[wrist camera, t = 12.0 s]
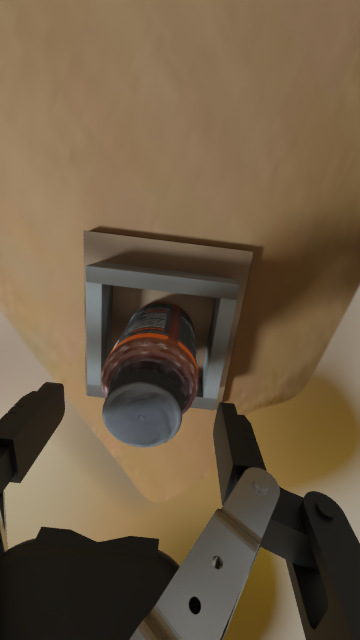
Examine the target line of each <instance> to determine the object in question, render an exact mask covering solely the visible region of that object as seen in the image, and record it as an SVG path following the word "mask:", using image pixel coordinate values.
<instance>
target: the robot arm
mask: <svg viewBox="0 0 360 640" xmlns="http://www.w3.org/2000/svg"><path fill="white" fill-rule="evenodd" d="M64 412H65V402H64V386H63V384H60V383H50V382H46V383H44V384H43V385H42V387H41V388H40V389H39V390H38V391H32V392H30V393H29V394H27V395H25V396H23V397H22V398H21V399H20V400H19V401H18V402H17V403H16V404H15V405H14V407H12V408H11V409H10V410H9V411H8V413H6V414H5V415H4V416H3V417H2V418H1V419H0V640H223V638H224V635H225V633H226V630H227V628H228V625H229V623H230V620H231V618H232V615H233V613H234V610H235V608H236V605H237V603H238V600H239V598H240V595H241V593H242V590H243V587H244V585H245V583H246V580H247V578H248V576H249V573H250V571H251V568H252V566H253V563H254V561H255V558H256V556H257V554H258V551H259V549H260V547H263V548H264V549H266V550H269V551H270V552H272V553H274V554H276V555H278V556H280V557H282V558H284V559H286V563H287V567H288V571H289V575H290V579H291V582H292V587H293V590H294V594H295V598H296V602H297V606H298V610H299V614H300V618H301V622H302V626H303V630H304V633H305V638H306V640H360V543H359V541H358V539H357V537H356V536H355V534H354V532H353V530H352V528H351V526H350V524H349V522H348V520H347V518H346V516H345V514H344V512H343V511H342V509H341V508H340V507H339V505H338V504H337V503H336V502H335V501H333V500H332V499H331V498H330V497H328V496H327V495H324V494H322V493H320V492H315V491H312V492H308V493H307V494H306V495H305V496H304V498H303V497H301V496H298V495H296V494H293V493H291V492H289V491H286V490H284V489H283V488H281V487H280V486H279V485H278V483H277V481H276V480H275V478H274V477H273V476H272V475H271V474H269V473H268V472H267V471H266V468H265V465H264V462H263V459H262V456H261V453H260V450H259V447H258V444H257V442H256V438H255V435H254V432H253V429H252V426H251V423H250V422H249V421H248V420H247V418H246V417H245V416H244V415H237V411H236V407H235V405H234V404H232V403H224V402H219V404H218V409H217V414H216V418H215V423H214V430H213V438H214V446H215V454H216V461H217V469H218V477H219V484H220V492H221V500H222V506H223V507H222V508H221V509H217V510H216V511H215V513H214V514H213V516H212V517H211V519H210V520H209V522H208V524H207V525H206V527H205V528H204V530H203V531H202V533H201V535H200V536H199V538H198V539H197V541H196V542H195V544H194V545H193V547H192V549H191V550H190V552H189V553H188V555H187V556H186V558H185V560H184V561H183V563H182V564H181V566H179V565H178V564H177V562H175V561H174V560H173V559H172V558H171V557H170V556H168V555H167V554H165V553H164V552H162V551H160V550H158V544H159V539H153V538H144V537H135V536H128V537H124V538H118V539H113V540H108V541H103V542H96V541H93V540H91V539H89V538H87V537H85V536H82V535H81V534H78V533H76V532H74V531H72V530H68V529H57V528H49V527H41V529H40V531H39V533H38V535H37V537H36V538H35V539H31V540H28V541H25V542H22V543H20V544H18V545H15V546H14V547H12V548H10V549H8V542H7V530H6V511H5V493H4V489H5V488H6V486H7V485H8V483H9V482H14V483H21V481H22V480H23V478H24V477H25V475H26V474H27V472H28V471H29V469H30V468H31V466H32V464H33V463H34V461H35V460H36V458H37V457H38V455H39V454H40V452H41V451H42V449H43V447H44V446H45V445H46V443H47V442H48V440H49V439H50V437H51V436H52V434H53V433H54V431H55V430H56V428H57V427H58V425H59V424H60V422H61V420H62V418H63V416H64Z"/></svg>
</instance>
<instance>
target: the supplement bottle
mask: <svg viewBox="0 0 360 640" xmlns="http://www.w3.org/2000/svg"><path fill="white" fill-rule="evenodd" d="M198 382H199V377H198V365H197V352H196V343H195V332H194V327H193V324H192V321H191V319H190V317H189V315H188V314H187V313H186V312H185V311H184V310H183V309H182V308H180V307H179V306H177V305H175V304H172V303H169V302H163V301H162V302H161V301H159V302H152V303H149V304H147V305H145V306H143V307H142V308H140V309H139V310H138V311H137V312H136V313H135V314H134V316H133V317H132V318H131V320H130V322H129V323H128V325H127V327H126V328H125V330H124V332H123V333H122V335H121V336H120V338H119V340H118V341H117V343H116V345H115V346H114V348H113V350H112V351H111V353H110V355H109V356H108V358H107V360H106V362H105V364H104V367H103V370H102V375H101V385H102V391H103V394H104V397H105V399H106V400H105V402H104V405H103V411H102V414H103V420H104V423H105V426H106V427H107V429H108V431H109V432H110V433H111V434H112V435H113V436H114V437H115V438H117V439H118V440H120V441H121V442H123V443H126V444H128V445H132V446H135V447H154V446H157V445H160V444H162V443H165V442H167V441H168V440H170V439H171V438H172V437H173V436H175V434H176V433H177V431H178V430H179V428H180V425H181V422H182V415H183V414H184V413H185V412H186V411H187V410H188V409H189V408H190V406H191V405H192V404H193V402H194V400H195V398H196V395H197V391H198Z"/></svg>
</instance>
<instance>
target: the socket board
mask: <svg viewBox="0 0 360 640" xmlns="http://www.w3.org/2000/svg"><path fill="white" fill-rule="evenodd" d="M252 257H253V252H252V251H246V250H238V249H230V248H222V247H214V246H206V245H197V244H189V243H181V242H173V241H165V240H157V239H149V238H141V237H133V236H125V235H117V234H109V233H101V232H93V231H84V293H85V361H86V395H87V396H94V397H103V398H105V397H104V394H103V391H102V385H101V375H102V370H103V367H104V364H105V362H106V360H107V358H108V356H109V355H110V353H111V351H112V350H113V348H114V346H115V345H116V343H117V341H118V340H119V338H120V336H121V335H122V333H123V332H124V330H125V328H126V327H127V325H128V323H129V322H130V320H131V318H132V317H133V316H134V314H135V313H136V312H137V311H138V310H139V309H140V308H142V307H143V306H145V305H147V304H149V303H152V302H159V301H161V302H162V301H163V302H169V303H172V304H175V305H177V306H179V307H180V308H182V309H183V310H184V311H185V312H186V313H187V314H188V315H189V317H190V319H191V321H192V324H193V327H194V332H195V343H196V352H197V365H198V377H199V382H198V391H197V395H196V398H195V400H194V402H193V404H192V405H191V406H190V407H191V408H200V409H209V410H215V409H218V404H219V402H222V399H223V394H224V389H225V385H226V380H227V375H228V370H229V366H230V361H231V356H232V351H233V347H234V342H235V337H236V333H237V328H238V323H239V318H240V314H241V309H242V304H243V299H244V295H245V290H246V285H247V281H248V276H249V271H250V266H251V262H252Z"/></svg>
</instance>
